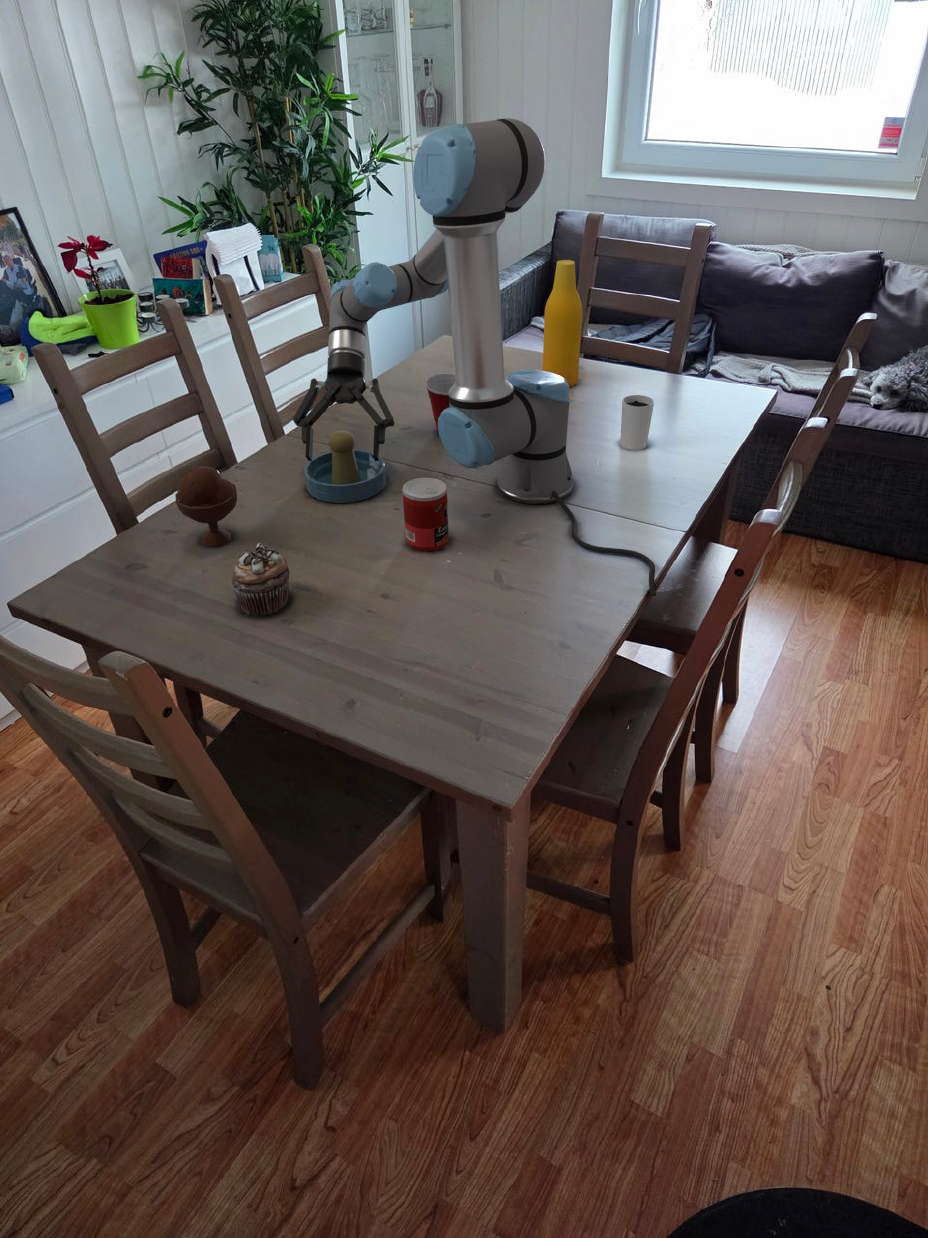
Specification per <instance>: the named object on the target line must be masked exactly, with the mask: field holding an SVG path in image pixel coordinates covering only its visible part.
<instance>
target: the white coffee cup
mask: <svg viewBox="0 0 928 1238" xmlns="http://www.w3.org/2000/svg"><path fill="white" fill-rule="evenodd" d="M654 405H655V400H654V399H653V398H652V397H651V396H647V395H643V394H629V395H626V396H624V397H623V398H622V401H621V417H620V418H621V420H620V421H621V422H620V441H619V444H620V446H621V447H622V448H623V449H626V450H631V451H640V450H643V449H645V448H646V447H647V445H648V440H649V434H650V429H651V424H652V423H651V422H652V416H653V411H654Z"/></svg>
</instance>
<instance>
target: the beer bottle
mask: <svg viewBox="0 0 928 1238" xmlns="http://www.w3.org/2000/svg"><path fill="white" fill-rule="evenodd" d="M576 282H577V279H576V262H575V261H574V260H571V259H562V260H558V261H556V267H555V272H554V280H553V286H552V289H551V292H550V295H549V297H548V298H547V301H546V303H545V307H544V316H543V317H544V319H543V320H544V321H543V326H544V327H543V347H542V348H543V349H542V368H541V369H542V370H541V371H546V372H550V373H554V374H556V375H559V376H561V377H563V378H564V379H565V380H566V381H567V383H568V386H569V388H571V387H573V386H575V385H576V384H577V383H578V381H579V376H580V375H579V374H580V371H579V370H580V354H581V338H582V325H583V324H582V321H583V304H582V301H581V298H580V295H579V293H578V290H577V283H576Z"/></svg>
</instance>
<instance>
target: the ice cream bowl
mask: <svg viewBox="0 0 928 1238" xmlns="http://www.w3.org/2000/svg"><path fill="white" fill-rule="evenodd" d="M174 496H175V504H176V506H177V509H178V510H179V511H180V512H181V513H182V515H184V516H185V517H187V518H189V519H191V520H193V521H195V522H197V523H201V524H207V525H208V529H209V530H208V531H206V532H205V533H204V534H203V535H202V536H201V544H202V545H204V546H206V547H221V546H223V545H226V544H227V543H228V542H230V541H231V540H232V534H231V532H230V531H229V530H227V529H224V528H220V526H219V522H221V521H222V520H224V519H225V518H226V517H227V516H229V514H231V513H232V511H233V510H234V509H235V508H236V505H237V501H238V492H237V487H236V484H234V483H231V481H229V480H228V479H225V478H222V476H221V474H220V473H219V471H218V470H217V469H216V468H214V467H210V466H205V465H204V466H198V467H196V468H195V469H194V470H193V471H190V472H187V473H186V474H184V475H183V476H182V477H181V478H180V480H179V481H178V484H177V492H176V493H175V495H174Z"/></svg>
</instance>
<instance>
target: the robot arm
mask: <svg viewBox="0 0 928 1238" xmlns="http://www.w3.org/2000/svg"><path fill="white" fill-rule="evenodd" d="M545 170H546V154H545V148H544V146H543V143H542V141H541V138H540V137H539V135H538V134H537V132H536V131H535V130H534V129H533V128H532V126H530V125H528V124H527V123H525V122H523V121H521V120H520V119H519V120H518V119H515V118H509V117H506V118H497V119H493V120H485V121H476V122H468V123H467V122H466V123H455V124H450V125H448V126H444V127H440V128H437V129H434V130H432V131H430V132H429V133H428V134H427V135H426V136H425V137H424V138H423V140H422V142H421V145H420V146H419V147H418V148H417V151H416V154H415V157H414V162H413V172H412V174H413V175H412V176H413V178H412V179H413V180H412V181H413V189H414V194H415V196H416V198H417V199H418V200H420V201H419V205H420V206H421V208H422V209H423V211H425V212H426V213H427V214H429V215H431V216H432V225H433V227H434V228H435V230H434V231H433V233H432V234H431V235H430V236H429V237H428V239H427V240H426V241H425V242H424V244H423V245H422V246H421V248H420V249H418V251H417V252H416V253H415V255H413V257H412V258H411V259H410V260H407V261H405V262H404V261H403V262H400V263H397V264H392V265H387V264H385V263H384V264H383V263H380V262H376V261H375V262H374V261H373V262H370V263H368V264H367V265H365V266H364V267H362V268H361V269H360V270H359V271H358V272H356V275H355V276H354V277H352V279H342V280H341V281H337V282H335V283H334V284H333V285H332V286H331V289H330V297H329V321H328V345H327V356H328V357H327V366H326V367H327V368H326V378H325V381H322V380H317V379H316V378H311V379H310V383H309V389H308V391H307V392H306V394H305V396H304V398H303V400H302V401H301V403H300V404H299V407H298V408H297V410H296V412H295V414H294V415H293V417H292V421H293V423H294V424H295V426H296V427H301V435H300V438H301V439H300V440H301V442H302V443H303V444H304V445H305V454H304V455H305V456H304V457H305V459H306V460H307V461H308V462H309V461H312V459H313V453H314V452H313V450H314V448H313V447H314V431H315V430H314V429H313V427H312V426H313V425H314V424H315V423H316V422H317V421H318V420H319V419H320V418H321V416H322V415H324V413H326V411H327V410H328V409H329V408H330V407H333V405H335V403H337V404H338V405H343V404H348V405H353V404H354V403H358V404H359V406H360V407H362V409H363V410H364V411H365V412H366V414H368V416H369V417H370V418H371V420H372V421H373V422H374V423H375V425H374V427H373V450H372V453H373V457H374V460H375V461H379V456H380V448H381V447H380V445H385V442H386V430H387V428H390V427H394V426H395V425H396V424H395V420H394V418H393V416H392V413H391V412H390V409H389V408H388V405H387V403H386V401H385V399H384V397H383V395H382V393H381V386H380V382H379V379H378V378H373V379H372V380H369V381H365V373H366V372H365V369H366V361H365V358H366V346H367V345H366V342H367V341H366V340H367V325H368V322H369V321H370V320H371V319H372V318H374V316H375V315H376V314H377V313H379V312H381V311H384V310H387V309H388V310H389V309H391V308H394V307H399V306H402V305H406V304H410V303H414V302H417V301H418V302H419V301H422V300H426V299H432V298H435V297H437V296H438V295H439V296H440V295H441V294H445V292H447V291H448V302H449V315H450V325H451V327H450V328H451V338H452V339H451V340H452V350H453V362H454V373H455V375H456V382H455V384H454V385H453V386H452V387H451V388H450V390H449V405H450V407H449V408H447V409H445V410H444V411H443V412H442V413H441V415H440V417H439V419H438V431H439V434H438V435H439V439H440V441H441V443H442V445H443V447H444V450H446V452H447V454H448V455H449V456H450V457H451V459H452V460H454V461H455V463H457V464H458V465H460V466H462V467H463V468H466V469H477V468H481V467H483V466H490V465H491V464H493V463H495V462H497V461H499V460H501V459H503V460H502V463H501V466H500V469H499V471H498V474H497V479H496V480H497V481H496V482H497V490H498V492H499V493H500V494H501V495H502V496H503V497H505V498H507V499H508V500H511V501H514V502H517V503H521V504H526V505H546V504H552V503H556V502H557V503H558V505H559V506H560V507H561V508H562V510H563V511H564V512H565V514H566V515H567V516H568V517H569V519H570V522H571V535H572V539H573V540H574V542H575V543H577V545H579V547H582V548H584V549H586V550H589V551H591V552H597V553H603V554H611V555H622V556H629V557H633V558H636V559H639V560H640V561H642V562H644V563H645V564H646V565H647V566H648V567H649V571H648V589H649V595H650V596H651V597H656V596H657V592H656V584H655V576H656V564H655V563H654V562H653V561H652V559H650V558H649V557H648V556H646V555H645V554H643V553H641V552H638V551H635V550H632V549H626V548H618V547H617V548H616V547H615V548H614V547H606V546H597V545H594V544H590V543H588V542H586V541H583V539H581V538H580V537H579V534H578V521H577V518H576V516H575V515H574V513H573V511H572V510H571V509H570V507H568V506H567V503H565V502H564V501H563V499H566V498H567V497H568V496H569V495H571V493H573V489H574V475H573V472H572V468H571V464H570V461H569V457H568V454H567V442H568V425H569V411H570V410H569V409H570V402H571V399H570V387H569V386H568V383H567V381H566V380H565V379H564V378H563V377H561V376H559V375H556V374H554V373H550V372H546V371H542V370H539V369H521V370H515V371H512V372H510V373H509V374H508V376H507V379H506V378H505V364H504V362H505V361H504V344H503V326H502V325H503V324H502V322H503V321H502V307H501V306H502V305H501V304H502V303H501V291H500V290H501V289H500V288H501V287H500V285H501V284H500V270H499V269H500V268H499V267H500V266H499V249H498V231H499V228H500V227H501V226H502V225H503V223H504V222H505V221H506V219H507V217H506V216H507V214H514V213H516V212H518V211H519V210H520V209H522V208H523V207H524V205H526V203H527V202H528V201H529V200H530V199H531V198H532V197H533V195H535V193H536V191H537V190H538V188H539V187H540V186H541V184H542V181H543V178H544V175H545ZM323 389H325V390H326V392H325V394H323V395H322V398H321V399H320V400H319V402H318V403H317V404H315V406H314V407H313V408H312V406H313V405H314V403H315V401H316V399H317V397H318V395H319V393H322V390H323ZM367 389H368V390H369V392H370V393H373V395H374V397H375V399H376V401H377V403H378V405H379V407H380V410H381V412H382V414H383V416H384V417H385V419H384V418H382V417H381V416H380V415H379V414H378V412H377V411H376V410H375V409H374V408H373V406H372V405H371V404H370V402H368V400H367V399H366V398H365V397H364V395H363V394H364V393H365V391H366V390H367ZM311 408H312V409H311ZM438 431H437V432H438Z"/></svg>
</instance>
